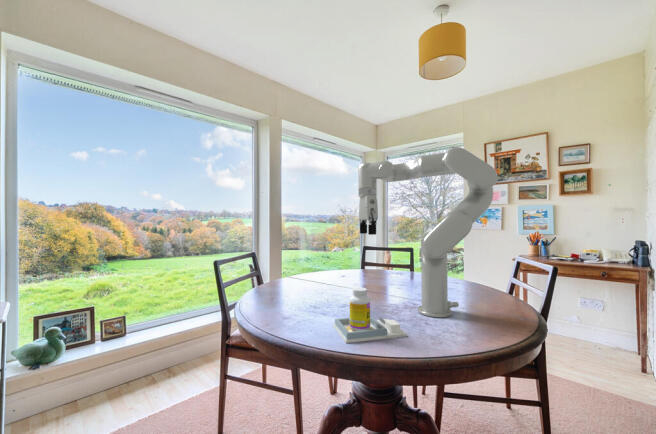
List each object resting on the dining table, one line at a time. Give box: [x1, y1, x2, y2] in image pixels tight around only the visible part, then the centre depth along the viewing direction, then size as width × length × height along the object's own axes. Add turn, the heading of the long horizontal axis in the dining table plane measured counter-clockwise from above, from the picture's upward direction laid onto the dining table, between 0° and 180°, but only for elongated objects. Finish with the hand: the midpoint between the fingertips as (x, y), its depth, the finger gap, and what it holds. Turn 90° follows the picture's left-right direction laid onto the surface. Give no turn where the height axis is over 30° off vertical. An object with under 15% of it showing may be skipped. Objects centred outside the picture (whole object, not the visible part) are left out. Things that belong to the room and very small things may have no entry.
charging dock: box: [332, 315, 408, 344], centre depth 95 cm, size 20×14×3 cm
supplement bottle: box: [349, 286, 371, 331], centre depth 94 cm, size 7×7×13 cm
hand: (367, 233), depth 122 cm, fingers open, 9 cm apart
